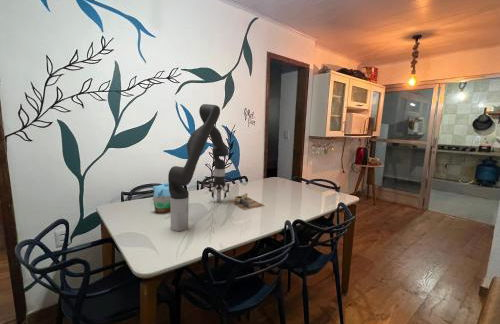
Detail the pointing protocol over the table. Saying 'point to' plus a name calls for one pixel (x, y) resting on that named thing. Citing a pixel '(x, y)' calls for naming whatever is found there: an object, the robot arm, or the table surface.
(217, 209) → the table surface
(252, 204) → the mounting board
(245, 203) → the hinge
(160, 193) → the light blue lumpy mass
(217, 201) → the hinge pin
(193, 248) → the table surface
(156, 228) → the table surface
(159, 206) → the food container
